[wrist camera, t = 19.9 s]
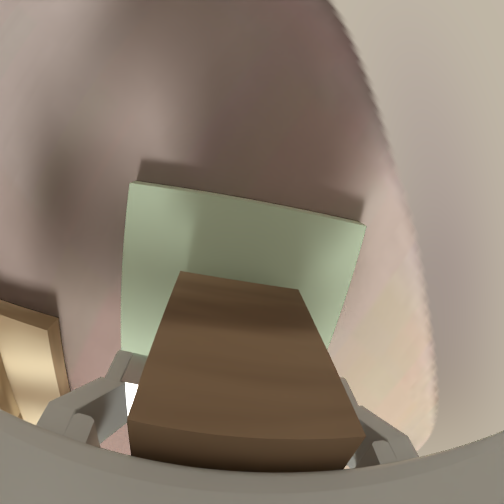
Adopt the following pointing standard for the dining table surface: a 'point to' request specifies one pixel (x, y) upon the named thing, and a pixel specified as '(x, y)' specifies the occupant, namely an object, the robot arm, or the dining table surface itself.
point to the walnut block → (241, 384)
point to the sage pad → (229, 253)
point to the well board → (30, 362)
